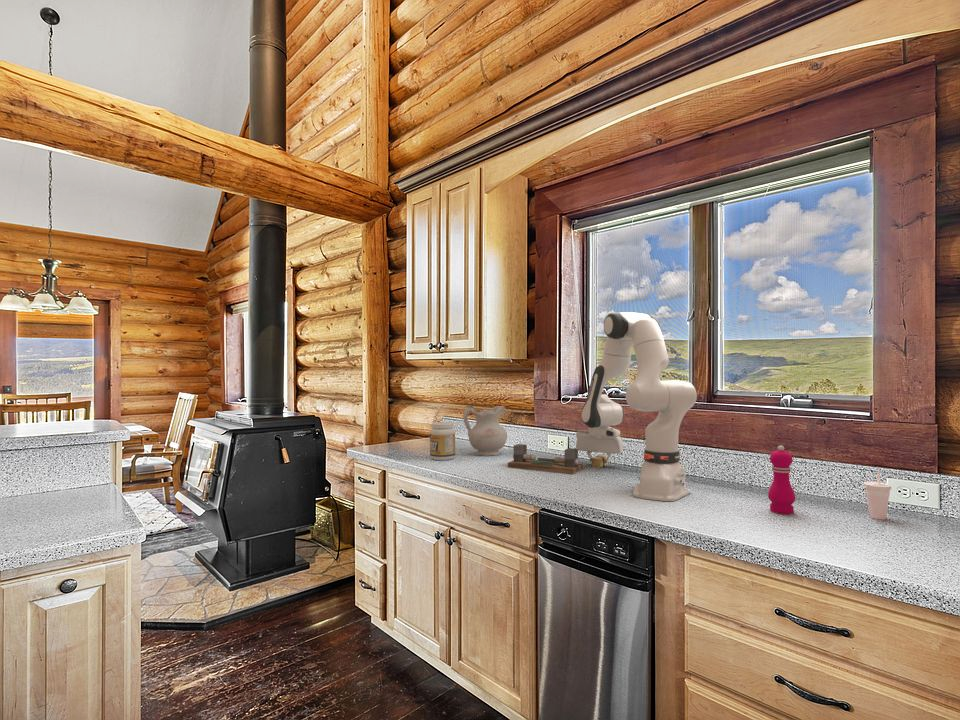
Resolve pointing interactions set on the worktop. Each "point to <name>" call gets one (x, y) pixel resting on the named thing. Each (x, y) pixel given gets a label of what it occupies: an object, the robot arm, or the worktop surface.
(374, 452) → the worktop surface
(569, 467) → the shaft stand
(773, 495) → the pepper mill
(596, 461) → the coupling
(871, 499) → the smoothie
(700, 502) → the worktop surface
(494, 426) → the ceramic pitcher
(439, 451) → the supplement tub
